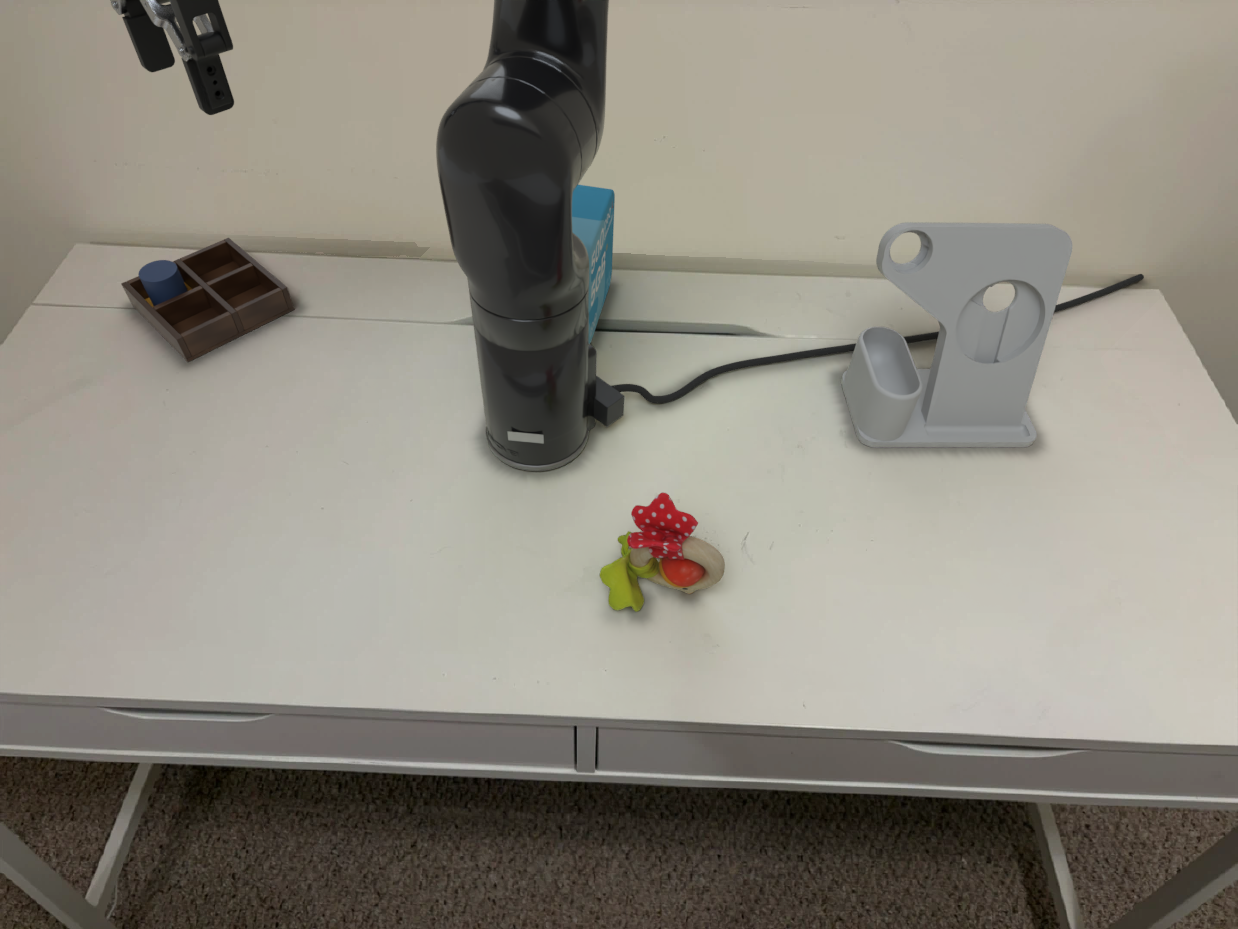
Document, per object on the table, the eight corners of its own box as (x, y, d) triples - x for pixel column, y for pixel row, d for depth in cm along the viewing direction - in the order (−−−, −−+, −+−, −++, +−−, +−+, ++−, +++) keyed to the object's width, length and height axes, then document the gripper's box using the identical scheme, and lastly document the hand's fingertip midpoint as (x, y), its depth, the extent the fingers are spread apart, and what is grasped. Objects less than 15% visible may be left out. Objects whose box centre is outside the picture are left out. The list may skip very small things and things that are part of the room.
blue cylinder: (181, 286, 87) (167, 255, 84) (197, 303, 85) (183, 271, 82) (148, 301, 85) (132, 269, 82) (163, 318, 84) (147, 286, 81)
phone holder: (856, 447, 77) (916, 291, 63) (834, 372, 83) (884, 215, 69) (1038, 447, 77) (1137, 293, 64) (1002, 372, 84) (1084, 218, 70)
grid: (237, 259, 91) (228, 237, 89) (294, 309, 86) (287, 287, 84) (132, 305, 86) (120, 283, 83) (187, 362, 81) (176, 339, 78)
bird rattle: (686, 569, 70) (589, 535, 67) (759, 501, 62) (652, 460, 59) (683, 635, 66) (580, 602, 63) (760, 572, 58) (646, 531, 55)
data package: (588, 352, 84) (589, 252, 74) (545, 345, 84) (541, 245, 75) (611, 280, 91) (615, 182, 82) (572, 274, 92) (571, 176, 83)
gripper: (209, -183, 45) (289, 107, 57) (95, -232, 51) (189, 40, 63) (69, -160, 41) (187, 145, 54) (-36, -216, 47) (91, 69, 60)
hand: (188, 88), depth 58 cm, fingers open, 8 cm apart
